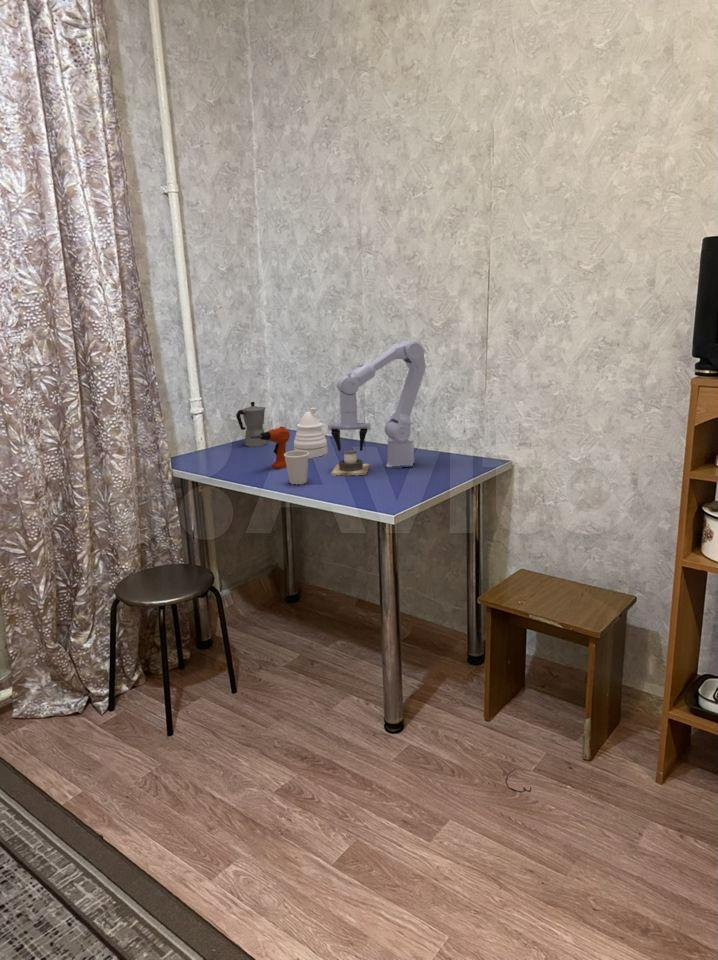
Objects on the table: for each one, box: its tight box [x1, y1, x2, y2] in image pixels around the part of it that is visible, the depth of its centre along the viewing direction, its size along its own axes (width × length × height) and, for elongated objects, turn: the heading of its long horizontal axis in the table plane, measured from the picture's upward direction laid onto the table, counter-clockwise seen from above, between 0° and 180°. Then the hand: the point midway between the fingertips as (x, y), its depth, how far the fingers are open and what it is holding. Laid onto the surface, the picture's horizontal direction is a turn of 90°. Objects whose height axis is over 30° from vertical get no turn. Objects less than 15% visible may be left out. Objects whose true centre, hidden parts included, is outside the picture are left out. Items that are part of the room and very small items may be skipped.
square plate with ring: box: [330, 458, 371, 477], centre depth 245 cm, size 12×12×4 cm
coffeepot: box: [235, 401, 268, 448], centre depth 288 cm, size 15×9×18 cm, turn 139°
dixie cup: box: [284, 450, 309, 486], centre depth 233 cm, size 8×8×10 cm
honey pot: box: [293, 407, 328, 459], centre depth 269 cm, size 13×13×18 cm
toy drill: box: [250, 426, 291, 470], centre depth 250 cm, size 5×19×15 cm, turn 141°
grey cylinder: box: [343, 449, 358, 464], centre depth 244 cm, size 4×4×6 cm
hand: (350, 450), depth 244 cm, fingers open, 7 cm apart
